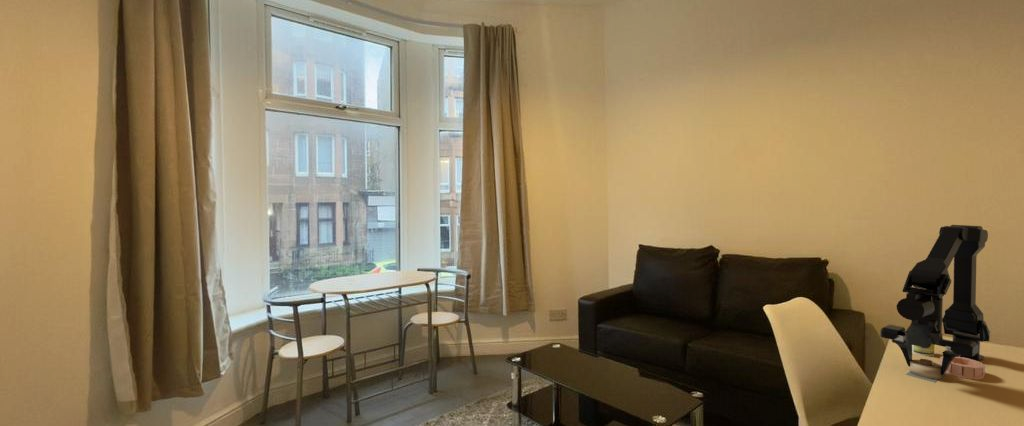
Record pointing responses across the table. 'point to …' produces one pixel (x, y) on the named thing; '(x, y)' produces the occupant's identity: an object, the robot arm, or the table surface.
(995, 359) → the table surface
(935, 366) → the lid
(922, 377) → the mat
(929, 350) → the supplement bottle
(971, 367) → the pink notched ring
